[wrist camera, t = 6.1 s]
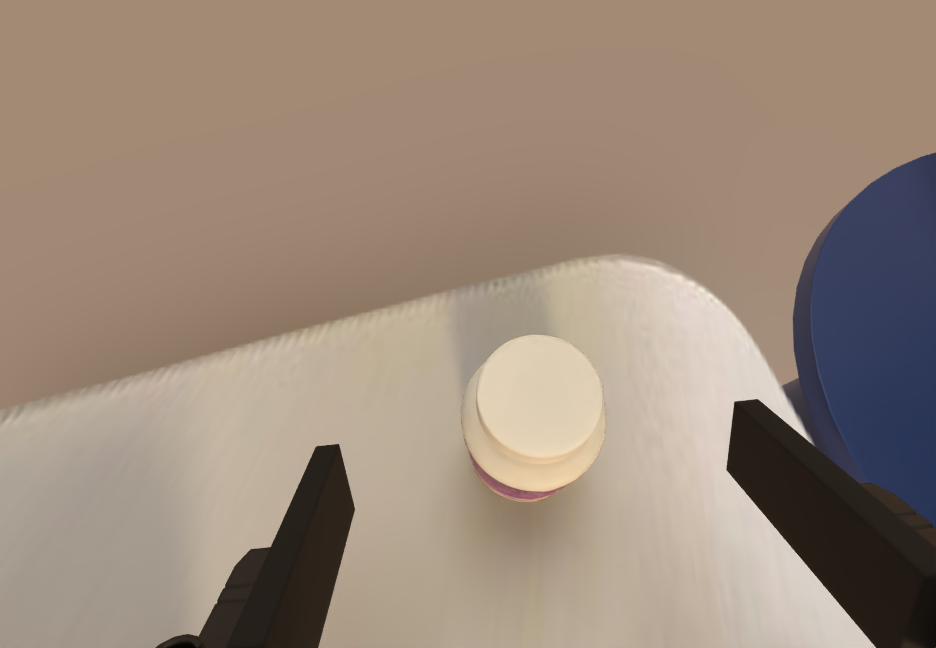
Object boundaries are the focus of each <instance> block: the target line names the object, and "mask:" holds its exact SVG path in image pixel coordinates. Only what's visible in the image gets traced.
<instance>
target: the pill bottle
mask: <svg viewBox="0 0 936 648" xmlns="http://www.w3.org/2000/svg"><path fill="white" fill-rule="evenodd" d="M461 424H462V430H463V435H464V440H465V443H466V445H467V448H468V450H469V453H470V457H471V460H472V463H473V466H474V468H475V470H476V472H477V474H478V475H479V477H480V478H481V480H482V481H483V482H484V483H485V484H486V485H487V486H488V487H489V488H490V489H491V490H492V491H494V492H495V493H497V494H499V495H501V496H503V497H505V498H508V499H511V500H515V501H520V502H530V501H537V500H540V499H544V498H546V497H549V496H551V495H553V494H554V493H556V492H557V491H559V490H560V489H562V488H563V487H565V486H566V485H568V484H569V483H571V482H573V481H574V480H576V479H577V478H578V477H580V476H581V475H582V474H583V473H584V472H585V471H586V470H587V469H588V468H589V467H590V465H591V464H592V463H593V461H594V460H595V458H596V457H597V455H598V453H599V451H600V449H601V446H602V444H603V441H604V437H605V433H606V409H605V404H604V400H603V388H602V384H601V380H600V377H599V375H598V373H597V371H596V369H595V367H594V366H593V364H592V363H591V361H590V360H589V359H588V358H587V357H586V356H585V355H584V353H582V352H581V351H580V350H579V349H578V348H576V347H575V346H573V345H572V344H570V343H568V342H566V341H564V340H562V339H559V338H556V337H552V336H547V335H526V336H521V337H518V338H515V339H512V340H510V341H508V342H506V343H504V344H503V345H502V346H500V347H499V348H497V349H496V350H495V351H494V352H493V353H492V354H491V355H490V356H489V358H488V359H487V360H486V362H485V363H484V364H483V365H481V366H480V367H479V368H478V370H477V371H476V372H475V374H474V375H473V376H472V378H471V380H470V381H469V383H468V385H467V388H466V390H465V393H464V396H463V401H462V407H461Z"/></svg>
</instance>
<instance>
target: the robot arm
mask: <svg viewBox="0 0 936 648" xmlns="http://www.w3.org/2000/svg"><path fill="white" fill-rule="evenodd" d="M727 471H728V472H729V473H730V475H731V476H732V477H733V478H734V479H735V481H736V482H737V483H738V484H739V485H740V487H741V488H742V489H743V490H744V491H745V492H746V494H747V495H748V496H749V497H750V498H751V500H752V501H753V502H754V503H755V504H756V506H757V507H758V508H759V509H760V510H761V511H762V513H763V514H764V515H765V516H766V517H767V519H768V520H769V521H770V522H771V523H772V525H773V526H774V527H775V528H776V529H777V530H778V532H779V533H780V534H781V535H782V536H783V538H784V539H785V540H786V541H787V542H788V543H789V545H790V546H791V547H792V548H793V549H794V551H795V552H796V553H797V554H798V555H799V557H800V558H801V559H802V560H803V561H804V562H805V564H806V565H807V566H808V567H809V568H810V570H811V571H812V572H813V573H814V574H815V576H816V577H817V578H818V579H819V580H820V581H821V583H822V584H823V585H824V586H825V587H826V589H827V590H828V591H829V592H830V593H831V595H832V596H833V597H834V598H835V599H836V600H837V602H838V603H839V604H840V605H841V606H842V608H843V609H844V610H845V611H846V612H847V614H848V615H849V616H850V617H851V618H852V619H853V621H854V622H855V623H856V624H857V625H858V627H859V628H860V629H861V630H862V631H863V633H864V634H865V635H866V636H867V637H868V638H869V640H870V641H871V642H872V643H873V644H874V646H875V647H876V648H936V527H935V528H934V527H933V526H932V523H930V522H929V521H928V520H926V519H925V518H924V517H923V516H921V515H920V514H917V513H916V511H915V510H914V509H913V508H911V507H910V506H909V505H908V504H906V503H905V502H904V501H902V500H901V499H900V498H899V497H897V496H896V495H894V494H892V493H890V492H888V491H886V490H884V489H883V488H881V487H879V486H877V485H875V484H873V483H864V484H859V483H858V482H856V481H855V480H854V479H853V478H852V477H850V476H849V475H848V474H847V473H846V472H844V471H843V470H842V469H841V468H840V467H838V466H837V465H836V464H835V463H834V462H832V461H831V460H830V459H829V458H828V457H826V456H825V455H824V454H823V453H822V452H820V451H819V450H818V449H817V448H816V447H814V446H813V445H812V444H811V443H810V442H808V441H807V440H806V439H805V438H804V437H802V436H801V435H800V434H799V433H798V432H796V431H795V430H794V429H793V428H792V427H790V426H789V425H788V424H787V423H786V422H784V421H783V420H782V419H781V418H780V417H779V416H777V415H776V414H775V413H774V412H773V411H771V410H770V409H769V408H768V407H767V406H765V405H764V404H763V403H762V402H761V401H759V400H758V399H755V400H746V401H737V402H734V411H733V419H732V427H731V436H730V444H729V453H728V461H727ZM354 511H355V508H354V503H353V499H352V495H351V491H350V487H349V483H348V479H347V475H346V471H345V467H344V462H343V458H342V454H341V450H340V446H339V444H335V445H326V446H316V448H315V450H314V452H313V455H312V457H311V459H310V461H309V463H308V466H307V468H306V470H305V472H304V475H303V477H302V479H301V481H300V483H299V486H298V488H297V490H296V492H295V495H294V497H293V499H292V501H291V503H290V506H289V508H288V510H287V512H286V515H285V517H284V519H283V521H282V524H281V526H280V528H279V530H278V532H277V535H276V537H275V539H274V541H273V544H272V546H271V547H269V548H259V549H251V550H250V551H249V552H248V553H247V554H246V555H245V556H244V557H243V558H242V559H241V560H240V561H239V562H238V563H237V564H236V566H235V567H234V569H233V571H232V573H231V575H230V577H229V579H228V581H227V582H226V584H225V588H224V589H223V590H222V592H221V594H220V596H219V598H218V600H217V601H218V602H217V604H215V606H214V608H213V610H212V612H211V614H210V616H209V617H208V619H207V621H206V623H205V625H204V627H203V629H202V631H201V633H200V635H199V637H198V636H194V635H189V634H186V635H181V636H176V637H173V638H171V639H169V640H167V641H165V642H163V643H161V644H160V645H158V646H157V647H156V648H318V646H319V643H320V639H321V635H322V631H323V627H324V624H325V620H326V616H327V612H328V609H329V605H330V601H331V597H332V594H333V590H334V586H335V582H336V579H337V575H338V571H339V567H340V564H341V560H342V556H343V552H344V548H345V545H346V541H347V537H348V533H349V530H350V526H351V522H352V518H353V515H354Z"/></svg>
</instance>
